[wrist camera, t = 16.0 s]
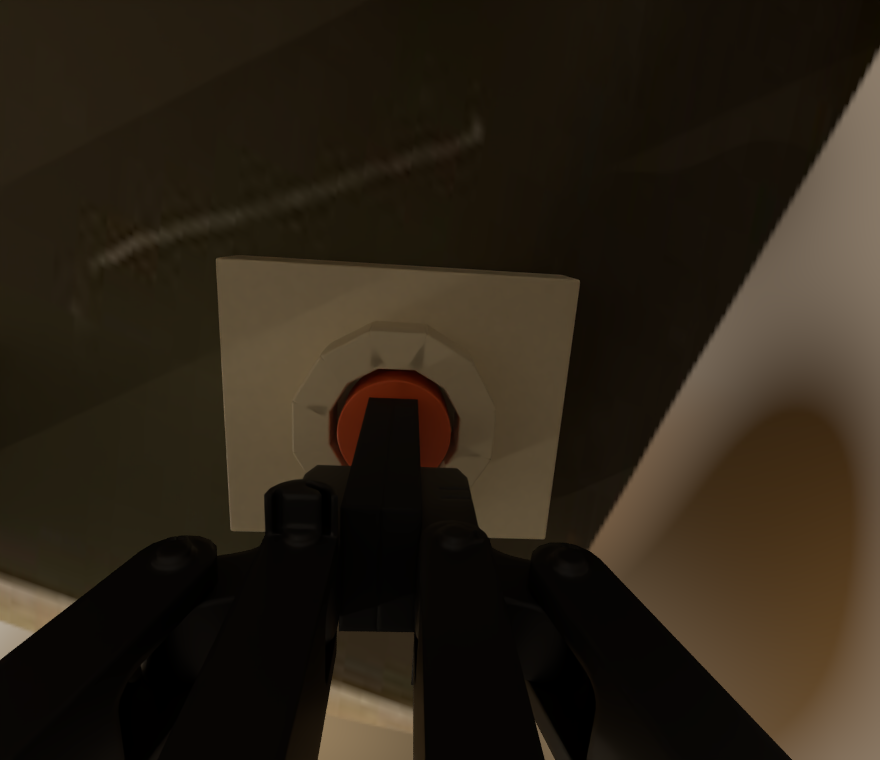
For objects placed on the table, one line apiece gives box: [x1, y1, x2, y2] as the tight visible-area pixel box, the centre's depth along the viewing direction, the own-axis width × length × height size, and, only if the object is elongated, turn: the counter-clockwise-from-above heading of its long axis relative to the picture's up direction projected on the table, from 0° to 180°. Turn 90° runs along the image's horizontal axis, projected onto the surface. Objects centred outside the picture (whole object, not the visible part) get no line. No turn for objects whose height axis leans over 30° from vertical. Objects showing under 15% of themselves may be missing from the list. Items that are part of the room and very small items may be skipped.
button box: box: [216, 255, 580, 539], centre depth 18 cm, size 12×10×4 cm
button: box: [337, 369, 451, 467], centre depth 17 cm, size 4×4×2 cm
